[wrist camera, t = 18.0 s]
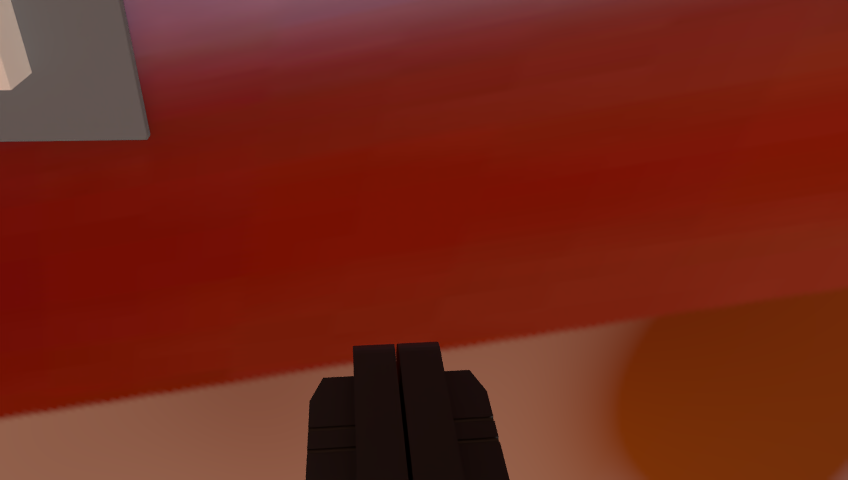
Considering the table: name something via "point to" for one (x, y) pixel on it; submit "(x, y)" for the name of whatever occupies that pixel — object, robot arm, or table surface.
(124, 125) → the mat
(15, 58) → the beige flat block
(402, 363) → the robot arm
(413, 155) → the table surface
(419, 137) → the table surface
